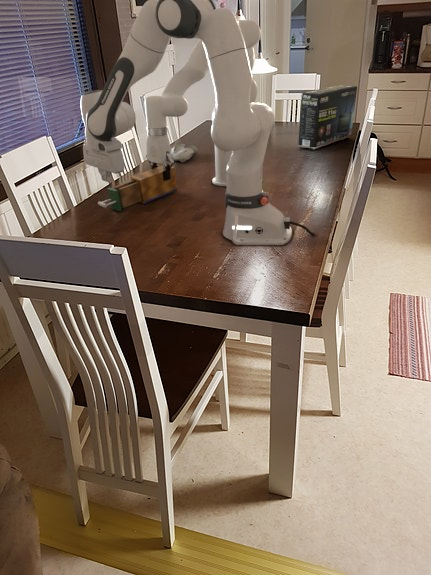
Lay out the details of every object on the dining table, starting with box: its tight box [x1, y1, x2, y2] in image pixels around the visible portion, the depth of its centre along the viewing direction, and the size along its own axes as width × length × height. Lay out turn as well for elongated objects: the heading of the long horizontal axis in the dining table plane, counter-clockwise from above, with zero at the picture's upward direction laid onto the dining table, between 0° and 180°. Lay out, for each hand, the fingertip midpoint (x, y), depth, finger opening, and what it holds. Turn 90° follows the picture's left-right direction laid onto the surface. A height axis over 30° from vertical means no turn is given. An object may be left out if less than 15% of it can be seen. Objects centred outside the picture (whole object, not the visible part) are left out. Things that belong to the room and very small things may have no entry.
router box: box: [297, 84, 358, 151], centre depth 238 cm, size 36×11×27 cm, turn 134°
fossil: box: [170, 142, 199, 163], centre depth 229 cm, size 18×11×15 cm
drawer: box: [97, 180, 143, 212], centre depth 172 cm, size 22×5×8 cm, turn 136°
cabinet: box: [130, 164, 178, 205], centre depth 180 cm, size 17×6×10 cm, turn 136°
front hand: (106, 180), depth 164 cm, fingers closed
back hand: (161, 177), depth 182 cm, fingers closed on cabinet, 6 cm apart
